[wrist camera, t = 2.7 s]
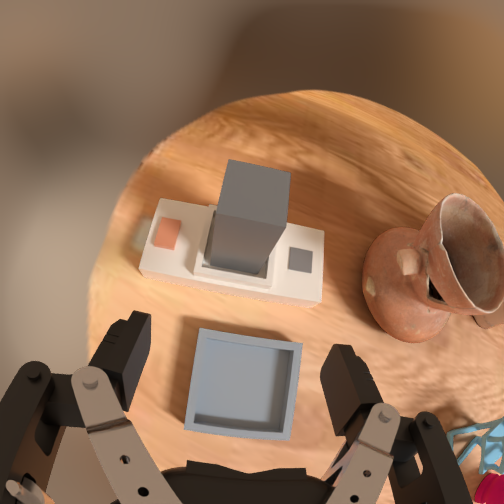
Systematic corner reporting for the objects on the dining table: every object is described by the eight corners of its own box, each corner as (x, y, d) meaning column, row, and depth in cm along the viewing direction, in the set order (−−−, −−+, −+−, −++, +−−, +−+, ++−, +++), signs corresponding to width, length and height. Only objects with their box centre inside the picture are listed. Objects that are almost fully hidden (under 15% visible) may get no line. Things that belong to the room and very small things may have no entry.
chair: (476, 450, 25) (531, 452, 15) (444, 474, 24) (504, 485, 13) (477, 410, 28) (536, 406, 17) (446, 432, 26) (511, 436, 15)
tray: (199, 330, 28) (199, 327, 26) (296, 344, 29) (302, 343, 27) (184, 424, 24) (183, 429, 22) (283, 436, 25) (289, 440, 23)
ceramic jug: (349, 354, 29) (442, 340, 16) (335, 234, 34) (402, 166, 21) (449, 334, 33) (528, 312, 20) (432, 241, 38) (498, 197, 25)
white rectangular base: (314, 242, 34) (328, 226, 30) (310, 308, 30) (326, 299, 27) (163, 211, 32) (159, 191, 28) (144, 277, 29) (136, 264, 25)
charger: (263, 231, 29) (290, 172, 20) (257, 274, 28) (286, 227, 18) (218, 222, 29) (228, 158, 20) (210, 265, 27) (215, 213, 18)
